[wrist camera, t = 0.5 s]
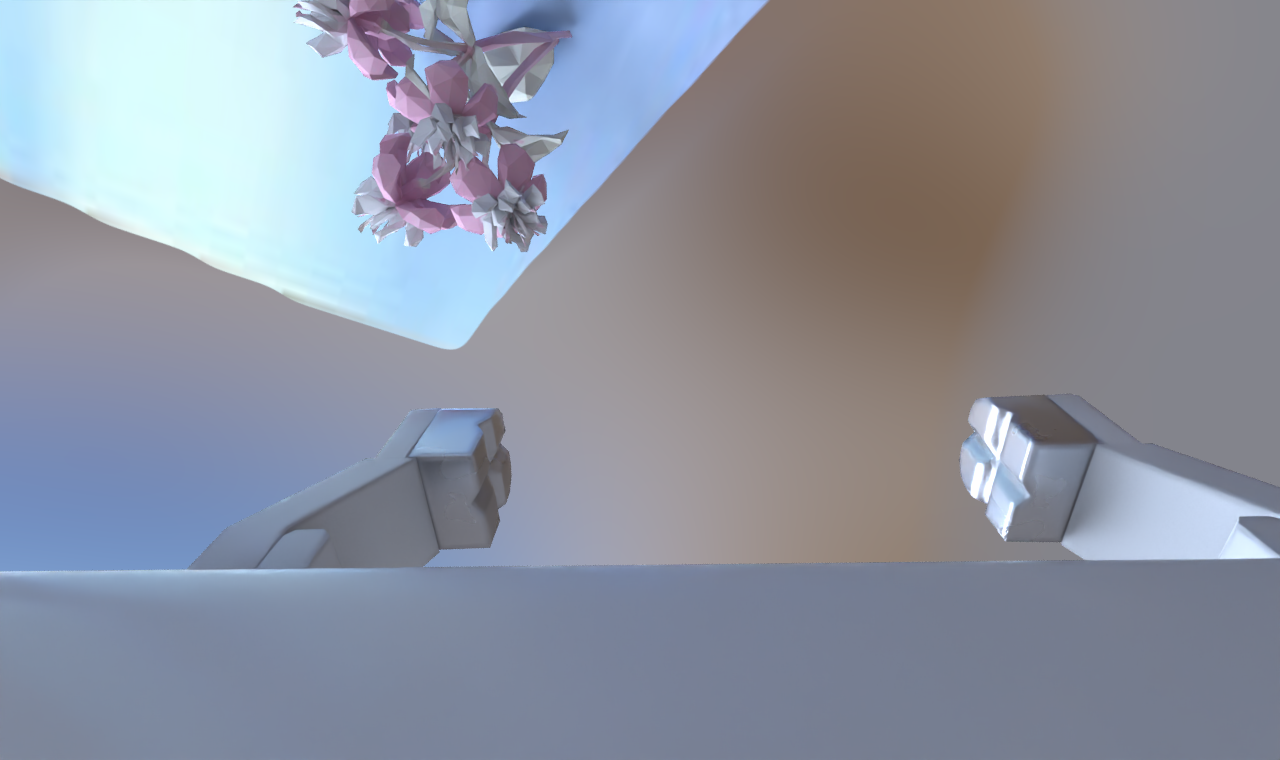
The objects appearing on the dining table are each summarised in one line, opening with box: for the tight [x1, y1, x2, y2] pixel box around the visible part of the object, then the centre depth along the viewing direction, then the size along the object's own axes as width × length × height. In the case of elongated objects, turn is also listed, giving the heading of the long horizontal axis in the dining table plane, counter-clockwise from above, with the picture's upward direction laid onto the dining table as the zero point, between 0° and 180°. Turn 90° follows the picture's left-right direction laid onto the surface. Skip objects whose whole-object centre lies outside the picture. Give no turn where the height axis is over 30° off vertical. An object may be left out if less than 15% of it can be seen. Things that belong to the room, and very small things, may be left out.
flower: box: [294, 0, 572, 252], centre depth 49 cm, size 20×22×25 cm
